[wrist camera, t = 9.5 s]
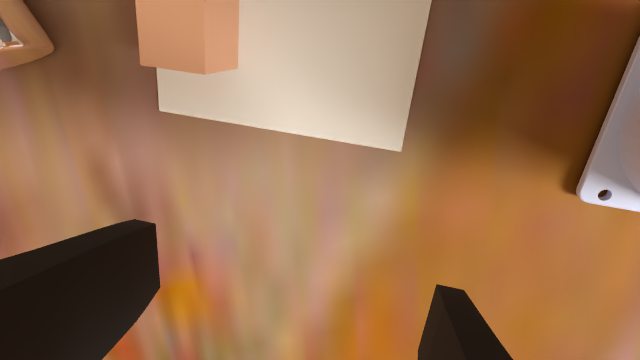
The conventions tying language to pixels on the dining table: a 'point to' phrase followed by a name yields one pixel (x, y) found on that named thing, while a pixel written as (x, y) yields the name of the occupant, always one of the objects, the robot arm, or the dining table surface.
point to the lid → (288, 63)
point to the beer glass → (20, 35)
